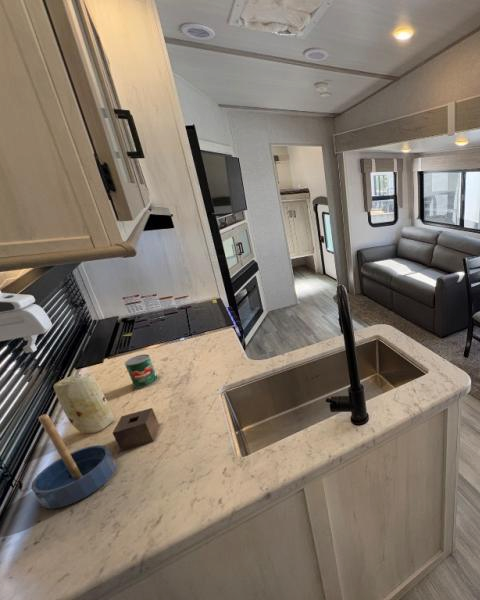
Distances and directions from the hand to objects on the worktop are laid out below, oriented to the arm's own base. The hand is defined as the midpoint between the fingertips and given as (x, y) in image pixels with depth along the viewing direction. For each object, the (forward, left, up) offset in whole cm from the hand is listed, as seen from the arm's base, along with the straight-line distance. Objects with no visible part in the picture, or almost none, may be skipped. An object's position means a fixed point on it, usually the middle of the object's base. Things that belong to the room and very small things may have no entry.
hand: (6, 356), depth 78 cm
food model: (+3, +13, -35) cm, 38 cm away
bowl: (+8, -13, -35) cm, 38 cm away
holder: (+18, 0, -35) cm, 39 cm away
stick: (+8, -13, -34) cm, 38 cm away
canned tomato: (+11, +38, -35) cm, 53 cm away
